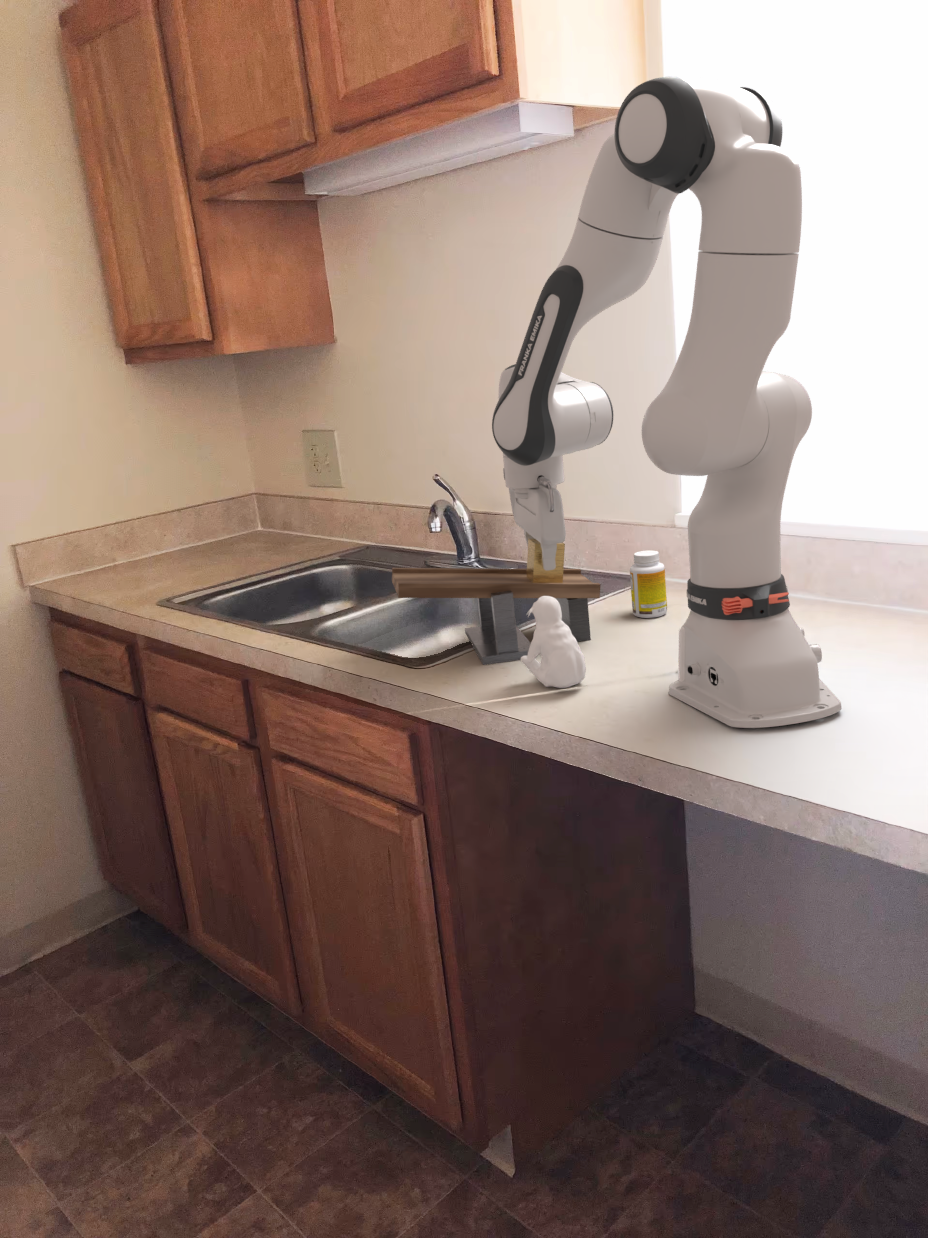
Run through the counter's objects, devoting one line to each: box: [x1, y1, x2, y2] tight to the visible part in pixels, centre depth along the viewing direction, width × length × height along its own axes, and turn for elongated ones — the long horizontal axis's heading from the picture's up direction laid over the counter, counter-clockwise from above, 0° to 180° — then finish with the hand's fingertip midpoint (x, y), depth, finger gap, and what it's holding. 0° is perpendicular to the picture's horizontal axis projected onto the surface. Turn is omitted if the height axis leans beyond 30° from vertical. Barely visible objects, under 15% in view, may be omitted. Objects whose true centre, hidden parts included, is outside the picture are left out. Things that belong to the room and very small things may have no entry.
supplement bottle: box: [629, 549, 668, 619], centre depth 162 cm, size 6×6×10 cm
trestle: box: [464, 591, 592, 666], centre depth 154 cm, size 17×18×10 cm
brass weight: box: [526, 539, 566, 583], centre depth 153 cm, size 5×5×6 cm
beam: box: [391, 567, 601, 599], centre depth 153 cm, size 12×30×3 cm, turn 99°
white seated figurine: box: [520, 596, 587, 689], centre depth 134 cm, size 6×8×12 cm
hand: (541, 563), depth 153 cm, fingers open, 8 cm apart
